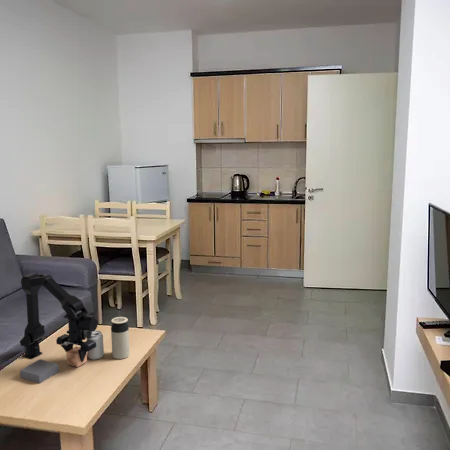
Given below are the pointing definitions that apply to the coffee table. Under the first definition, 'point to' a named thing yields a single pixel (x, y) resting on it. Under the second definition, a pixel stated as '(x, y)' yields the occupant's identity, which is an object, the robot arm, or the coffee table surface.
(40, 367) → the charcoal box
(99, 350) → the can
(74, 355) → the terracotta cube
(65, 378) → the coffee table surface
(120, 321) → the travel mug
